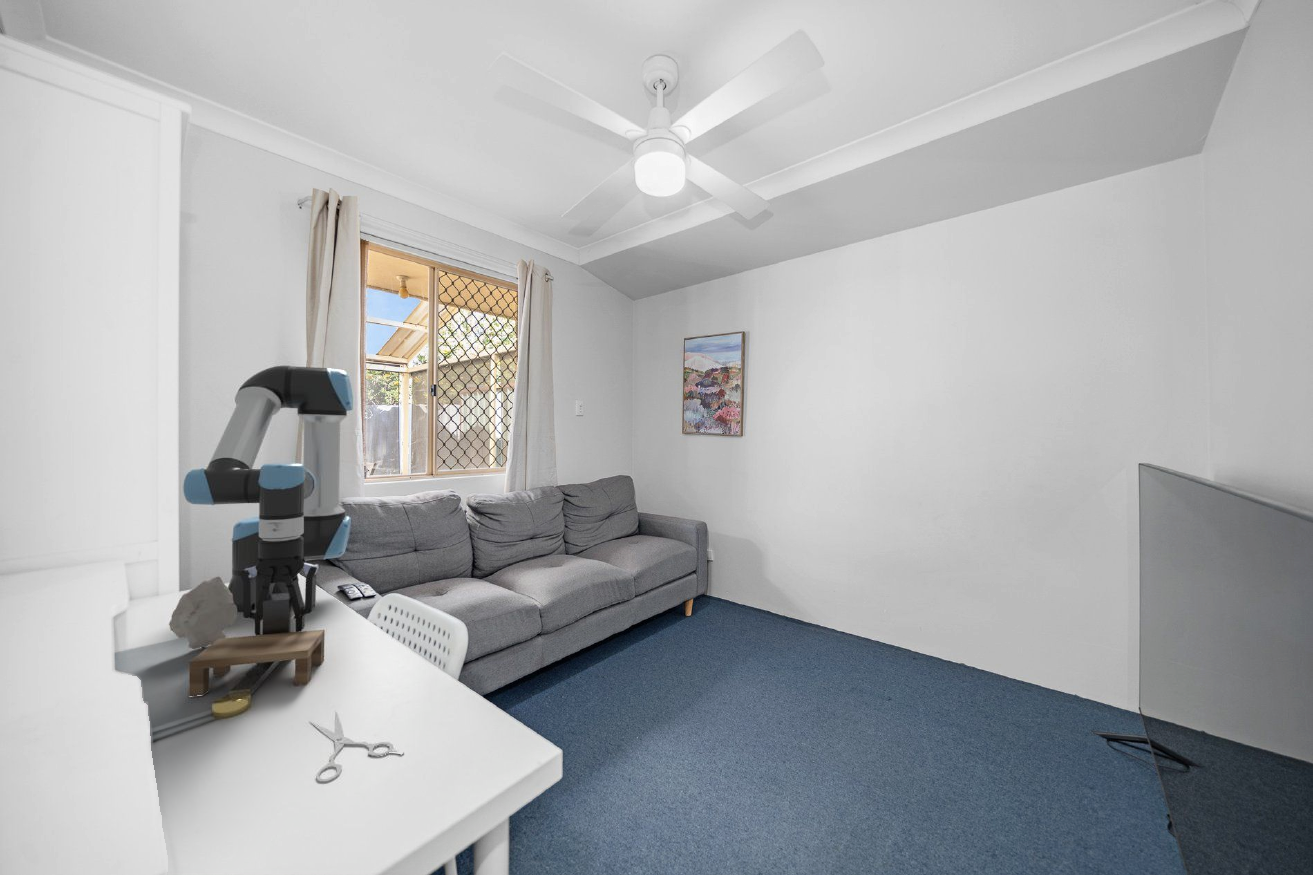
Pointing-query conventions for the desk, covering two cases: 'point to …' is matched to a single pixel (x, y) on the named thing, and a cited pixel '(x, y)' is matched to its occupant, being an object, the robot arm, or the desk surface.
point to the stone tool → (204, 613)
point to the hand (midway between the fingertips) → (279, 647)
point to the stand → (257, 655)
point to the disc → (231, 705)
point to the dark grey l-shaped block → (274, 622)
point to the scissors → (340, 743)
